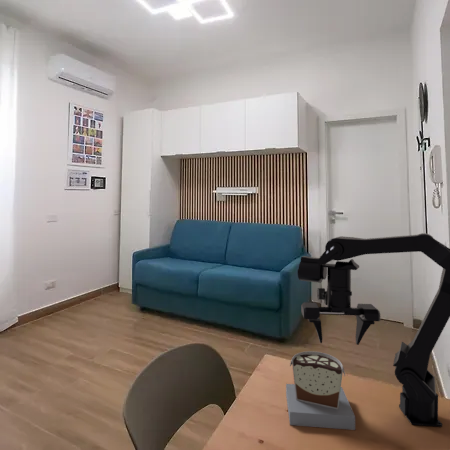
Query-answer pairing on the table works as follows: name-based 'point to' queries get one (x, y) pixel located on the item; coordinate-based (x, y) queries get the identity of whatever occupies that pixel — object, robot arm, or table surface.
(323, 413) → the base block
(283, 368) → the table surface
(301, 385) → the food container
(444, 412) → the table surface
